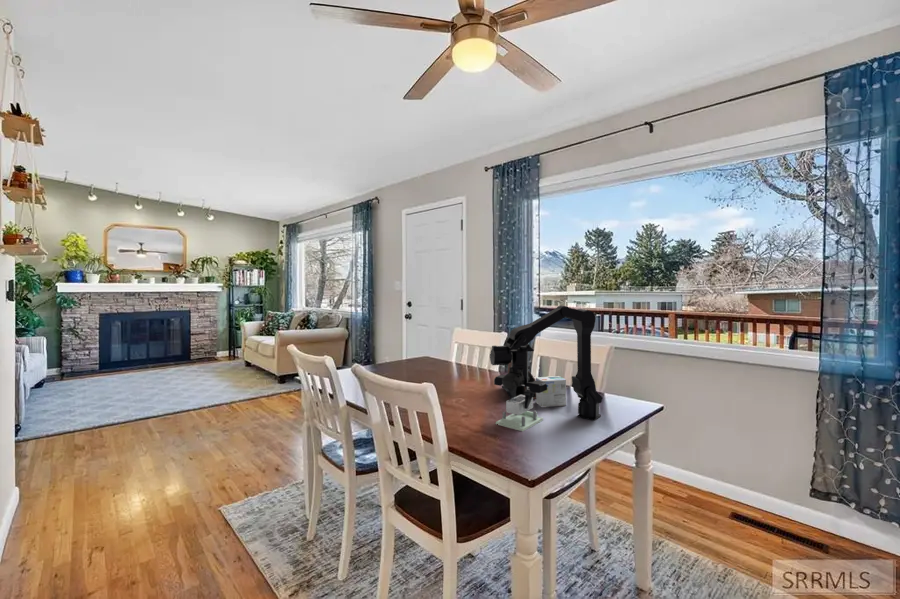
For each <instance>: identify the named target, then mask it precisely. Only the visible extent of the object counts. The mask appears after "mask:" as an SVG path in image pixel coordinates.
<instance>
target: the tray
mask: <svg viewBox="0 0 900 599" xmlns="http://www.w3.org/2000/svg"><path fill="white" fill-rule="evenodd" d="M542 421H544V418H543V417H540V416H538V413H537V410H532V411H530V410H528V411H526V412H524V413H522V414H520V415H516V414H512V413H510V414H509V415H507V412H506V411H502V418H500V419H499V420H497V421H496V422H495V425H497V424H498V426H502V427H505V428H508V429H512V430H516V431H520V432H525V431H526V430H528V429H530V428H531V427H533V426H535V425H537V424H539V423H540V422H542Z"/></svg>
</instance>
